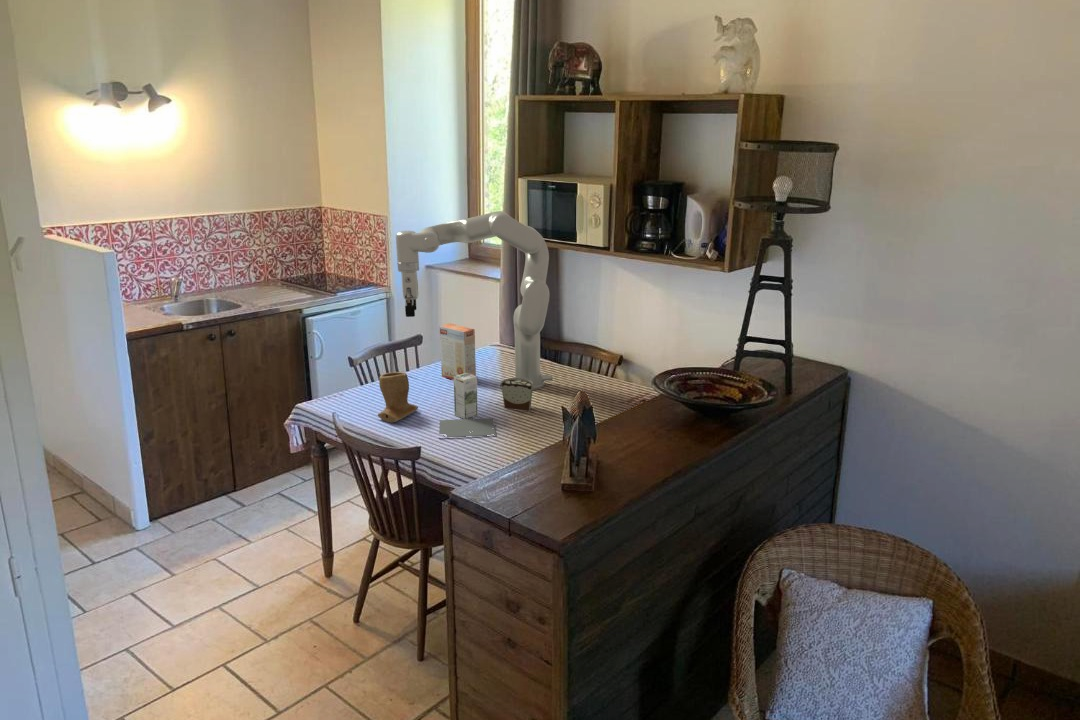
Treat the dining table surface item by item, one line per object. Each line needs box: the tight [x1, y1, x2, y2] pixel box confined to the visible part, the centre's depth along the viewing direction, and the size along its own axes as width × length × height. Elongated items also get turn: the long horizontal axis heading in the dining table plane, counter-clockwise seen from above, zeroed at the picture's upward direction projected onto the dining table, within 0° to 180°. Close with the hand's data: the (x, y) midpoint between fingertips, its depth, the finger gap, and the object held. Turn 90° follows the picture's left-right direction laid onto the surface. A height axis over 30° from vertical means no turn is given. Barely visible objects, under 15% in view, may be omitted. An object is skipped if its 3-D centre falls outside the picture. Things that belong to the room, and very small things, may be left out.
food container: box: [499, 377, 534, 412], centre depth 277 cm, size 12×6×10 cm, turn 71°
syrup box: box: [453, 373, 478, 419], centre depth 269 cm, size 6×6×14 cm
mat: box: [438, 417, 497, 437], centre depth 260 cm, size 18×15×1 cm
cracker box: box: [439, 323, 477, 381], centre depth 306 cm, size 14×6×21 cm, turn 49°
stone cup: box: [377, 371, 419, 423], centre depth 269 cm, size 15×12×15 cm
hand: (411, 313), depth 285 cm, fingers open, 9 cm apart
